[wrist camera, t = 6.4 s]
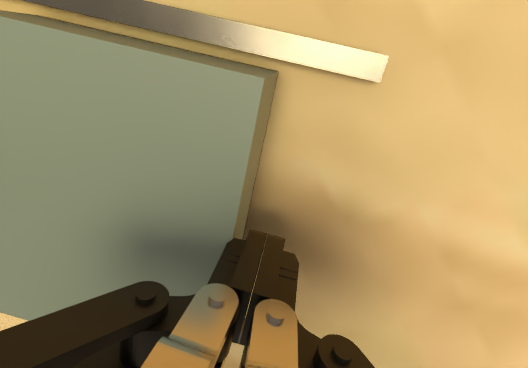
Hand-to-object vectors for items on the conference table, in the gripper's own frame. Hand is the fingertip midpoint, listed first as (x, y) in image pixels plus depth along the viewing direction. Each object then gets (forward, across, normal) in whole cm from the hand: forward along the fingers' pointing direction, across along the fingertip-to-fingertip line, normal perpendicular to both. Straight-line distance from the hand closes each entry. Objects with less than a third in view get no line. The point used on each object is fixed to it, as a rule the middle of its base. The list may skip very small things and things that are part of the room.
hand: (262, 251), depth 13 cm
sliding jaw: (+3, +7, 0) cm, 7 cm away
